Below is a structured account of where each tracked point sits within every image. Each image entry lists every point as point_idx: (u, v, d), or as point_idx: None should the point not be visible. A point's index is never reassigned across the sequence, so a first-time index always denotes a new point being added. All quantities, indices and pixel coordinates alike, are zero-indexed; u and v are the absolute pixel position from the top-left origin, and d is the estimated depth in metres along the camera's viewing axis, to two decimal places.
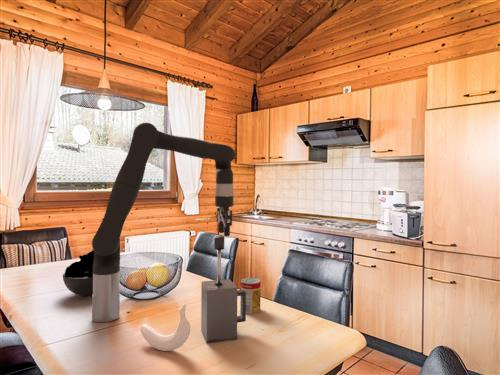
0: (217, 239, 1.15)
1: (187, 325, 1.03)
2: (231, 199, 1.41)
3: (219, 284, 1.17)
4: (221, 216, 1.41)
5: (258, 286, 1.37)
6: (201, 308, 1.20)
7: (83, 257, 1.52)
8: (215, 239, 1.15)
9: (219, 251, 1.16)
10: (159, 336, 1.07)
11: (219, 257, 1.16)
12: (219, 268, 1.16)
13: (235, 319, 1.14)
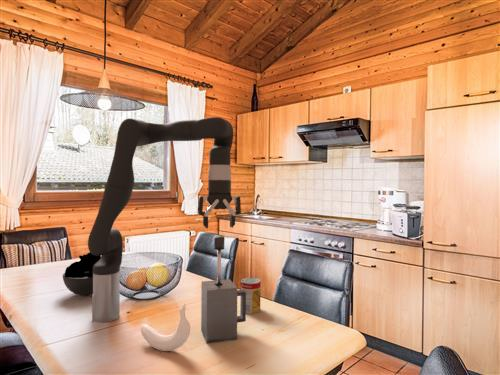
0: (217, 239, 1.15)
1: (187, 325, 1.03)
2: None
3: (219, 284, 1.17)
4: (226, 204, 1.15)
5: (258, 286, 1.37)
6: (201, 308, 1.20)
7: (83, 257, 1.52)
8: (215, 239, 1.15)
9: (219, 251, 1.16)
10: (159, 336, 1.07)
11: (219, 257, 1.16)
12: (219, 268, 1.16)
13: (235, 319, 1.14)
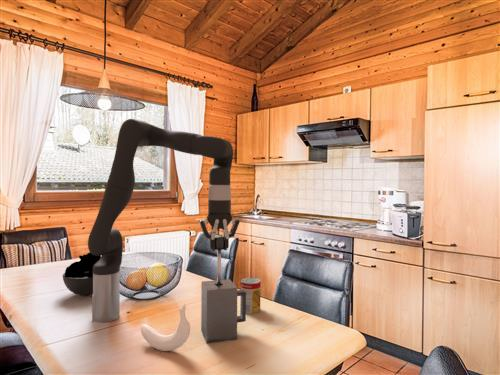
0: (217, 239, 1.15)
1: (187, 325, 1.03)
2: None
3: (219, 284, 1.17)
4: (224, 225, 1.15)
5: (258, 286, 1.37)
6: (201, 308, 1.20)
7: (83, 257, 1.52)
8: (215, 239, 1.15)
9: (219, 251, 1.16)
10: (159, 336, 1.07)
11: (219, 257, 1.16)
12: (219, 268, 1.16)
13: (235, 319, 1.14)
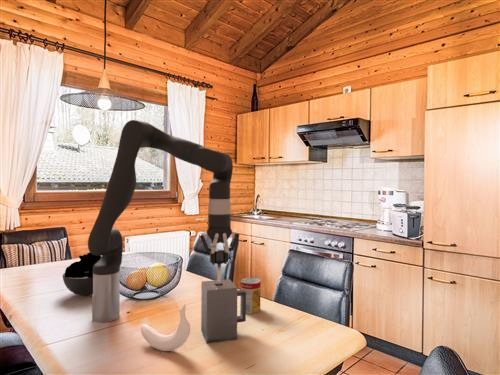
0: (217, 253, 1.15)
1: (187, 325, 1.03)
2: None
3: None
4: (224, 239, 1.15)
5: (258, 286, 1.37)
6: (201, 308, 1.20)
7: (83, 257, 1.52)
8: (215, 253, 1.16)
9: (219, 265, 1.16)
10: (159, 336, 1.07)
11: (219, 271, 1.16)
12: (219, 281, 1.16)
13: (235, 319, 1.14)
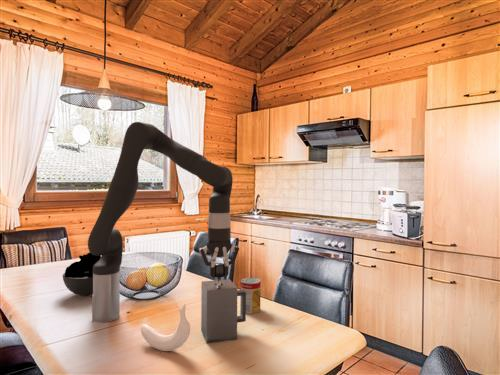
0: (217, 267, 1.15)
1: (187, 325, 1.03)
2: None
3: None
4: (224, 253, 1.16)
5: (258, 286, 1.37)
6: (201, 308, 1.20)
7: (83, 257, 1.52)
8: (215, 267, 1.16)
9: (219, 278, 1.16)
10: (159, 336, 1.07)
11: (219, 284, 1.16)
12: None
13: (235, 319, 1.14)
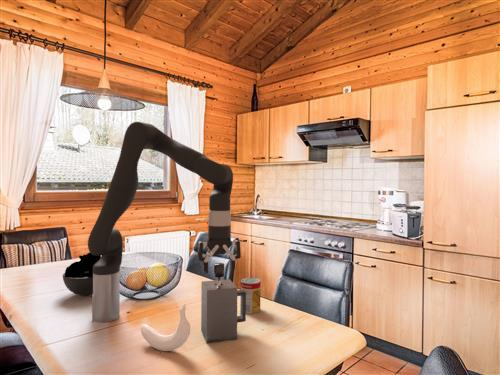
0: (217, 267, 1.15)
1: (187, 325, 1.03)
2: None
3: None
4: (226, 250, 1.16)
5: (258, 286, 1.37)
6: (201, 308, 1.20)
7: (83, 257, 1.52)
8: (215, 266, 1.16)
9: (219, 278, 1.16)
10: (159, 336, 1.07)
11: (219, 284, 1.16)
12: None
13: (235, 319, 1.14)
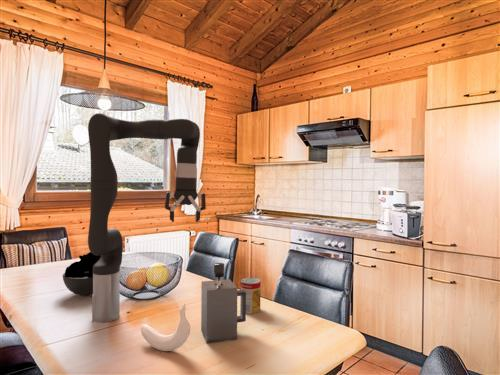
0: (217, 267, 1.15)
1: (187, 325, 1.03)
2: None
3: None
4: (192, 200, 1.24)
5: (258, 286, 1.37)
6: (201, 308, 1.20)
7: (83, 257, 1.52)
8: (215, 266, 1.16)
9: (219, 278, 1.16)
10: (159, 336, 1.07)
11: (219, 284, 1.16)
12: None
13: (235, 319, 1.14)
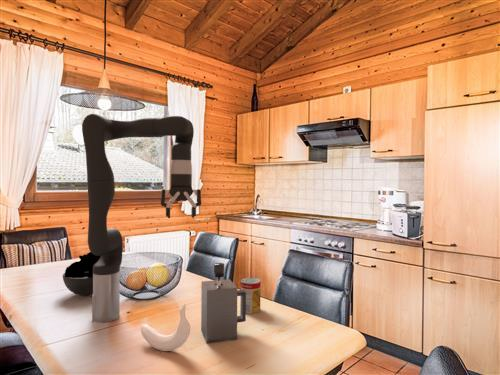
0: (217, 267, 1.15)
1: (187, 325, 1.03)
2: None
3: None
4: (187, 197, 1.25)
5: (258, 286, 1.37)
6: (201, 308, 1.20)
7: (83, 257, 1.52)
8: (215, 266, 1.16)
9: (219, 278, 1.16)
10: (159, 336, 1.07)
11: (219, 284, 1.16)
12: None
13: (235, 319, 1.14)
